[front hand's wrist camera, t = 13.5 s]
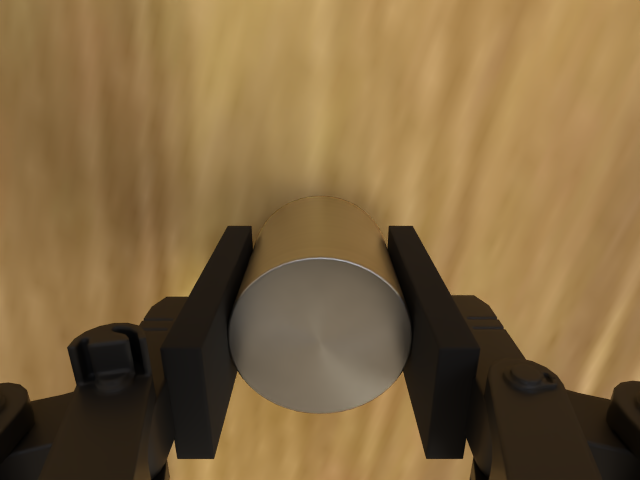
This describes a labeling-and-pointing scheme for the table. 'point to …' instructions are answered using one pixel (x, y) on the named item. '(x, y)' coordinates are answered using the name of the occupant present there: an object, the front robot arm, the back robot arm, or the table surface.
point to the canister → (320, 310)
